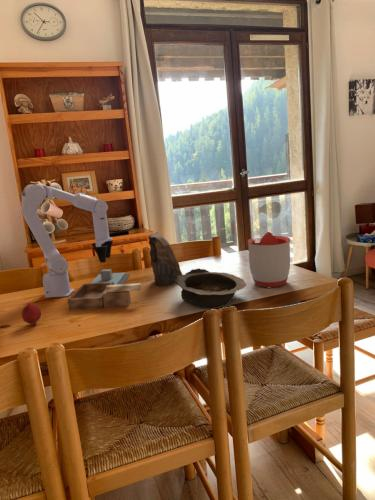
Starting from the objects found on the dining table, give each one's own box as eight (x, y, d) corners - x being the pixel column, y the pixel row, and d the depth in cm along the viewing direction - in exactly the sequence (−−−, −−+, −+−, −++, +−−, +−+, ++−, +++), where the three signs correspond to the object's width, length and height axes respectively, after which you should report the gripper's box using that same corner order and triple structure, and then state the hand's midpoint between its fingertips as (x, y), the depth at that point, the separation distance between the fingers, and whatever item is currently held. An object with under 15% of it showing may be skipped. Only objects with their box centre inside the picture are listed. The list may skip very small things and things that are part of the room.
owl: (161, 288, 154) (156, 238, 150) (142, 282, 163) (136, 235, 159) (184, 280, 162) (180, 232, 158) (165, 275, 171) (160, 230, 167)
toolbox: (69, 310, 138) (67, 297, 137) (85, 293, 155) (83, 281, 154) (128, 307, 136) (126, 293, 135) (137, 290, 154) (136, 278, 153)
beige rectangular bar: (106, 292, 138) (105, 286, 137) (108, 290, 140) (107, 285, 139) (140, 290, 137) (139, 284, 136) (141, 288, 139) (140, 283, 138)
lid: (87, 289, 159) (85, 277, 158) (99, 276, 177) (98, 265, 176) (116, 287, 158) (114, 275, 157) (125, 274, 176) (124, 263, 175)
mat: (83, 291, 158) (83, 290, 158) (97, 276, 178) (97, 275, 178) (120, 288, 157) (120, 288, 157) (130, 274, 177) (130, 273, 177)
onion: (31, 329, 124) (27, 305, 122) (20, 326, 127) (15, 303, 125) (46, 322, 129) (42, 299, 127) (35, 319, 132) (31, 297, 130)
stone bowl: (164, 296, 143) (163, 272, 142) (224, 288, 153) (224, 265, 151) (191, 318, 121) (191, 289, 119) (260, 307, 131) (261, 280, 129)
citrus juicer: (271, 273, 161) (269, 225, 157) (300, 284, 146) (299, 231, 141) (239, 281, 155) (236, 231, 150) (265, 293, 139) (263, 237, 135)
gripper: (106, 230, 155) (110, 263, 158) (114, 224, 169) (118, 255, 172) (88, 231, 156) (93, 264, 159) (98, 225, 170) (102, 256, 173)
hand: (105, 259), depth 165 cm, fingers open, 7 cm apart
